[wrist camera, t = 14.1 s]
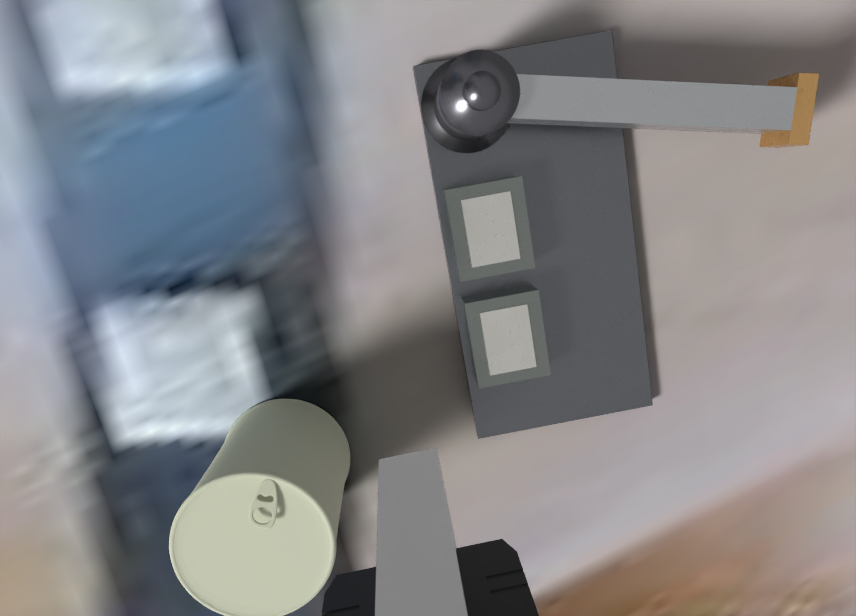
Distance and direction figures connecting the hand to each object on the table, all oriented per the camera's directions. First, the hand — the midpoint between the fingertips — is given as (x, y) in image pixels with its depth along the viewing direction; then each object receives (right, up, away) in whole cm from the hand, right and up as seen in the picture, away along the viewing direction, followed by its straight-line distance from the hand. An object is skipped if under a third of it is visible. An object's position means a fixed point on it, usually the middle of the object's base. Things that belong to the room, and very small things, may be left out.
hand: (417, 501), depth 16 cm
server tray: (+8, +9, +27) cm, 30 cm away
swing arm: (+12, +18, +24) cm, 32 cm away
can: (-10, -6, +30) cm, 32 cm away
